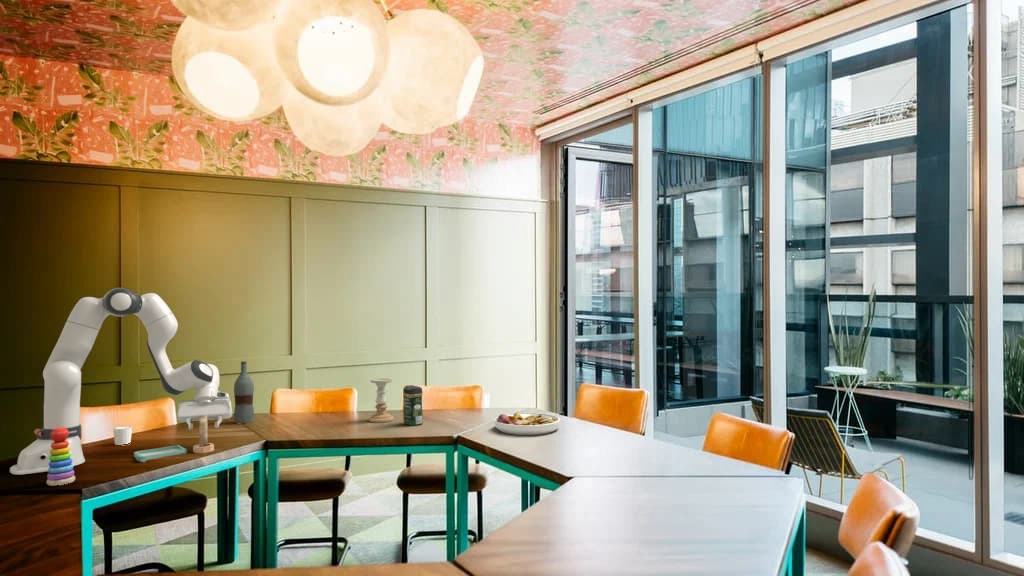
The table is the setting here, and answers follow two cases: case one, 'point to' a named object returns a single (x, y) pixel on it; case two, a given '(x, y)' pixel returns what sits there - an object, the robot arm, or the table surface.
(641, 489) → the table surface
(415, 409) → the coffee jar
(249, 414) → the bottle
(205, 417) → the dowel
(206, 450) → the wooden ring
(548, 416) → the bowl
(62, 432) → the stacking toy
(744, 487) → the table surface
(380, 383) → the candle holder
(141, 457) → the tray
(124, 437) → the white tapered pot
